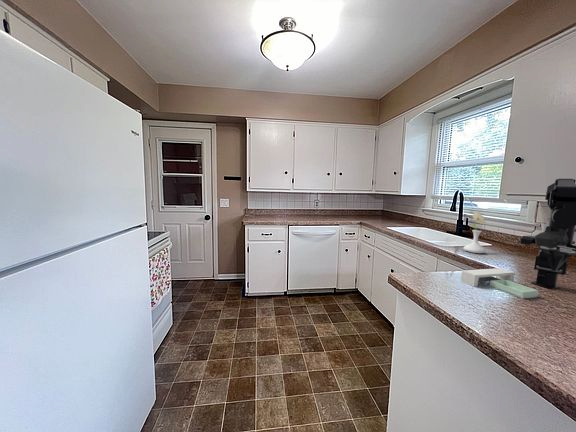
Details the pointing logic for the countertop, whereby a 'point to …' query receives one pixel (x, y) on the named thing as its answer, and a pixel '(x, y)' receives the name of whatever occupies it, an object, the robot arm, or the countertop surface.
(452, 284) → the countertop surface
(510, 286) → the tray
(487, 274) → the shelf
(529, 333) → the countertop surface
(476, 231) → the flower in vase
